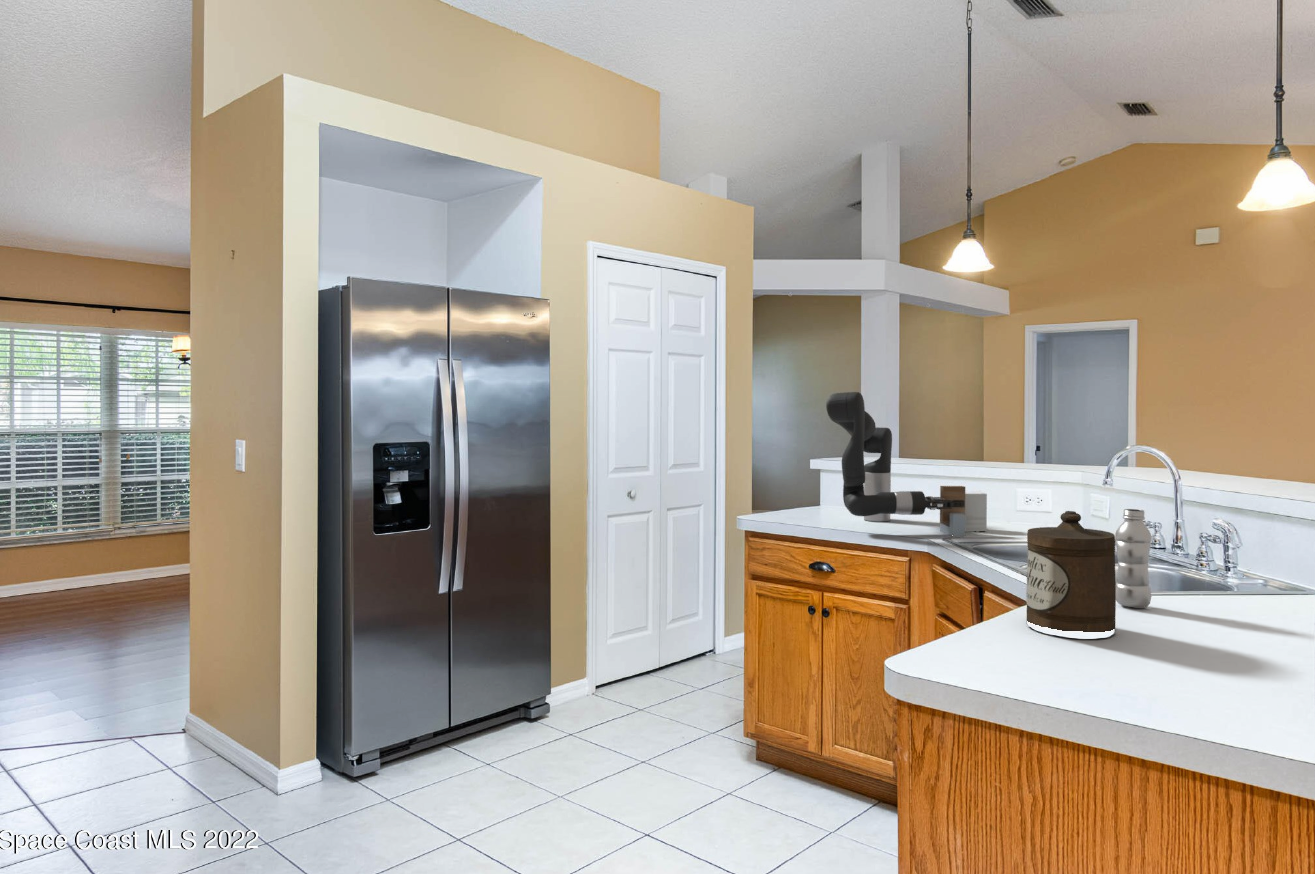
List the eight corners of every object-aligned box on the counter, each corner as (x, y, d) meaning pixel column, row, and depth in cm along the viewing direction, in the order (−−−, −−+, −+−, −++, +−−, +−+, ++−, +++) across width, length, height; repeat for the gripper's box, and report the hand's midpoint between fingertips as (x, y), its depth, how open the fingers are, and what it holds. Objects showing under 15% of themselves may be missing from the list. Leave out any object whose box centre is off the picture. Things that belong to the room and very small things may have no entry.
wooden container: (1013, 618, 161) (1014, 506, 160) (1090, 619, 161) (1092, 506, 160) (1046, 640, 146) (1048, 516, 146) (1131, 640, 146) (1134, 517, 145)
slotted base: (940, 530, 272) (940, 509, 271) (951, 530, 272) (951, 509, 271) (953, 536, 260) (953, 514, 259) (964, 536, 260) (964, 514, 259)
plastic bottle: (1138, 612, 165) (1140, 513, 164) (1106, 605, 171) (1108, 509, 170) (1158, 608, 168) (1160, 510, 167) (1126, 601, 174) (1128, 507, 173)
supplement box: (980, 528, 276) (980, 490, 275) (986, 532, 269) (987, 493, 268) (957, 528, 277) (957, 490, 276) (963, 531, 269) (963, 493, 269)
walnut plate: (939, 522, 267) (940, 485, 267) (961, 522, 267) (962, 485, 267) (942, 524, 264) (943, 486, 264) (964, 524, 264) (965, 486, 264)
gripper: (914, 493, 258) (970, 493, 258) (901, 489, 272) (954, 489, 272) (914, 517, 258) (969, 517, 258) (901, 511, 272) (953, 511, 272)
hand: (961, 502), depth 265 cm, fingers closed on walnut plate, 3 cm apart
